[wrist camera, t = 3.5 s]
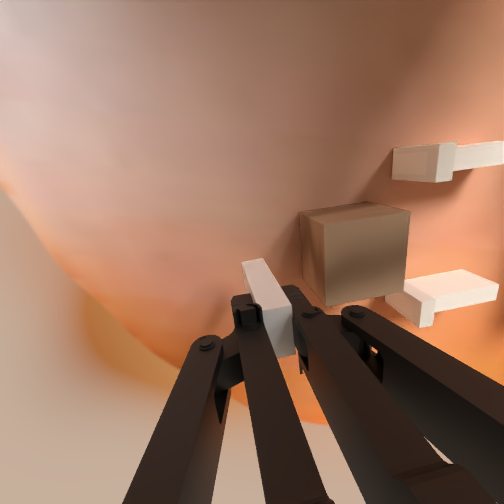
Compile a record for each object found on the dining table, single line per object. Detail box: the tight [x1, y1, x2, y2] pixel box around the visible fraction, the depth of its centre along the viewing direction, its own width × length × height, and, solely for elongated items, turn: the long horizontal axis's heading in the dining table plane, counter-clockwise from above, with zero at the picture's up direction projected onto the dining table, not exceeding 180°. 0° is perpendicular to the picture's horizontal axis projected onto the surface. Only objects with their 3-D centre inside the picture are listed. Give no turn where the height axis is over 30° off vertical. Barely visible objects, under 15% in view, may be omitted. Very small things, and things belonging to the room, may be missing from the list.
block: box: [299, 202, 410, 307], centre depth 20 cm, size 6×6×5 cm
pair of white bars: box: [385, 140, 504, 328], centre depth 21 cm, size 14×8×4 cm, turn 7°
